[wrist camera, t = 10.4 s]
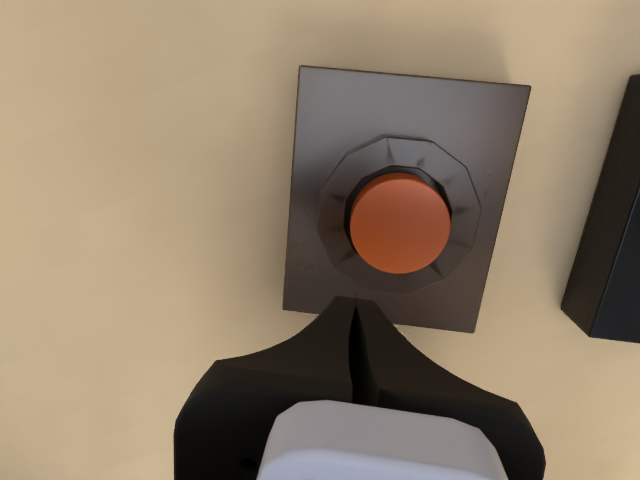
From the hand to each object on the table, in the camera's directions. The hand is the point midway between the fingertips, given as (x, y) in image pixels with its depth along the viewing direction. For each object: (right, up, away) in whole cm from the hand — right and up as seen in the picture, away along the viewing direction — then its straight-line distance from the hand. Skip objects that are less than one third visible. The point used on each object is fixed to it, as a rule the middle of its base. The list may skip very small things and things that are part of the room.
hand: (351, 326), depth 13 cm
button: (+2, +4, +5) cm, 7 cm away
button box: (+3, +5, +9) cm, 10 cm away
